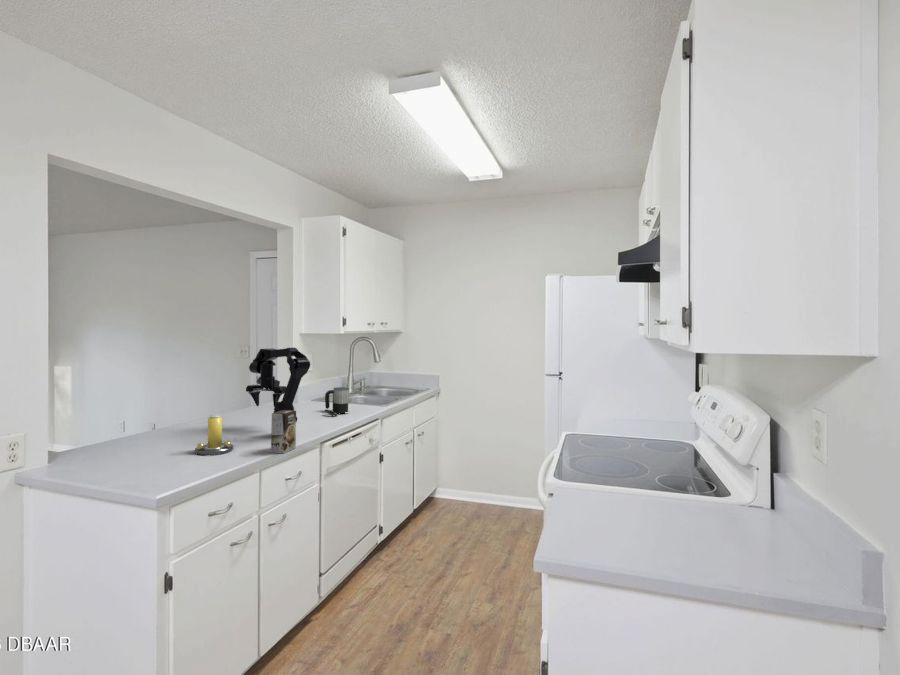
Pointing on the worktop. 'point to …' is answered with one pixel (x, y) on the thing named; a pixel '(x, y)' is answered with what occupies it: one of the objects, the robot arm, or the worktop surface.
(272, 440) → the coffee box
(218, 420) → the yellow cylinder
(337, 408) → the milk frother
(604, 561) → the worktop surface
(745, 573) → the worktop surface
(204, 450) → the base plate
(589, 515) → the worktop surface
